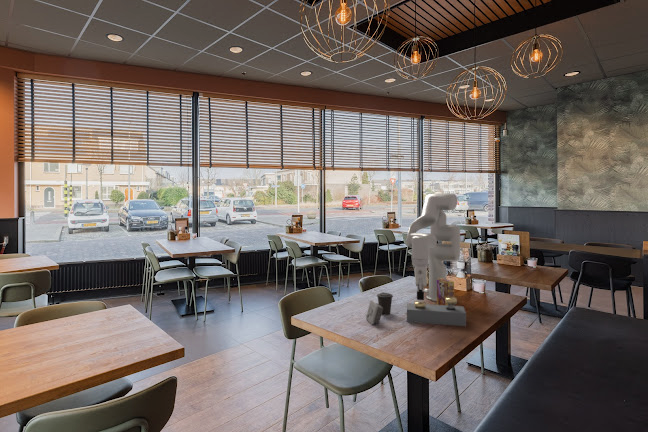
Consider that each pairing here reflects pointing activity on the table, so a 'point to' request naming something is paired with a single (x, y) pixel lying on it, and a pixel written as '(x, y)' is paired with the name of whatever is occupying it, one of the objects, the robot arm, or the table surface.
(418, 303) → the knob
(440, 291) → the candy box
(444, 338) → the table surface
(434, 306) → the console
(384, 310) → the coffee cup
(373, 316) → the electrical switch
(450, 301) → the knob
